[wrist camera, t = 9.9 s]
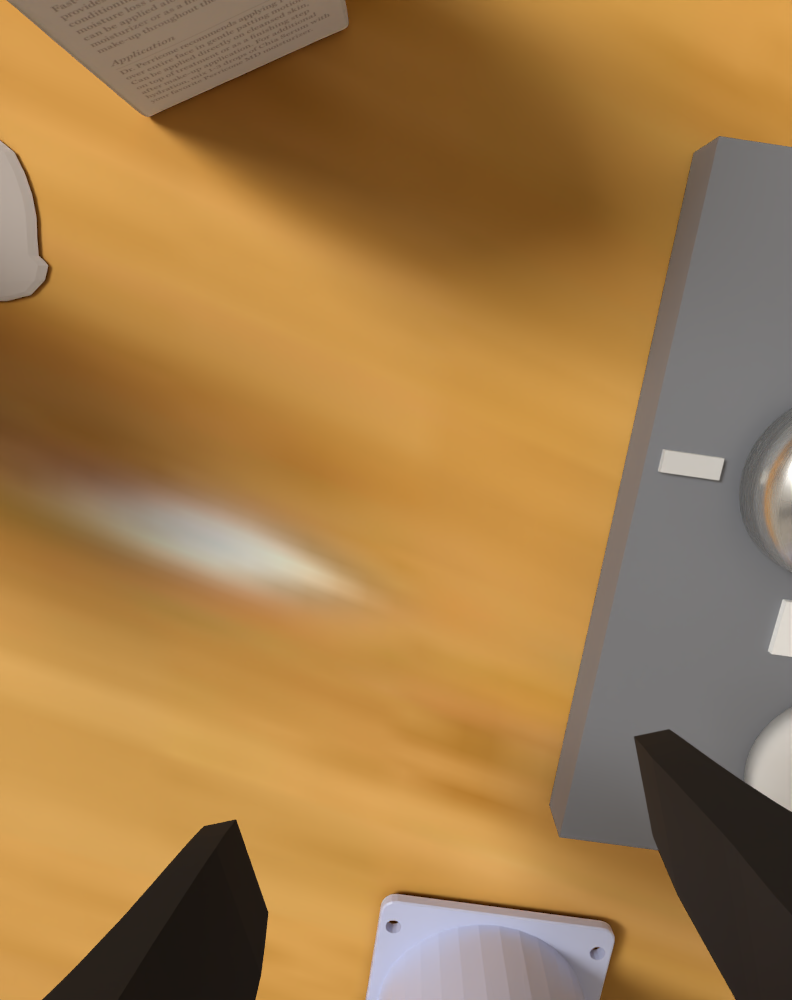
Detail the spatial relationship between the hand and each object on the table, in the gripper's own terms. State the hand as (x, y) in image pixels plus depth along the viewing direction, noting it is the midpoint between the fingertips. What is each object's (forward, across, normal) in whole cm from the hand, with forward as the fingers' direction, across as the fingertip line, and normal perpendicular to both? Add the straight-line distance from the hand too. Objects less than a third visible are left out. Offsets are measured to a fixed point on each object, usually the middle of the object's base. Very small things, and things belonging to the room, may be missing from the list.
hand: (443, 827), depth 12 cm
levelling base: (+9, -11, 0) cm, 14 cm away
